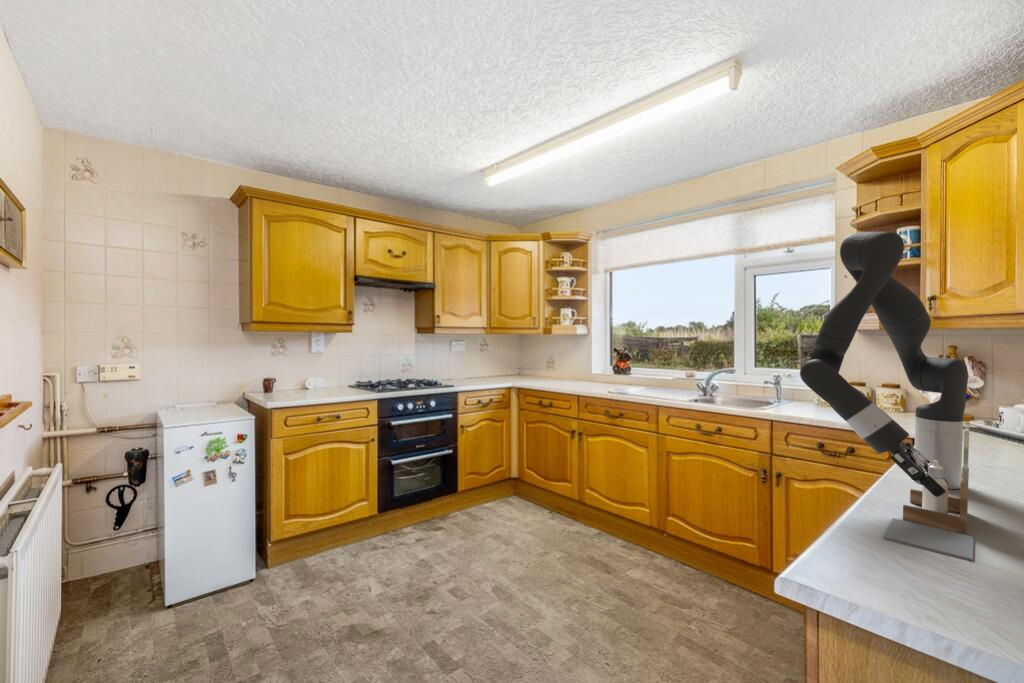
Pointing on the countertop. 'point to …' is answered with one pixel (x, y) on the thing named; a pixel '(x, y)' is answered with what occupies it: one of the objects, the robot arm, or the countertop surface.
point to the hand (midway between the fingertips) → (942, 490)
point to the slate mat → (931, 538)
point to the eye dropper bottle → (928, 498)
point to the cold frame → (954, 503)
